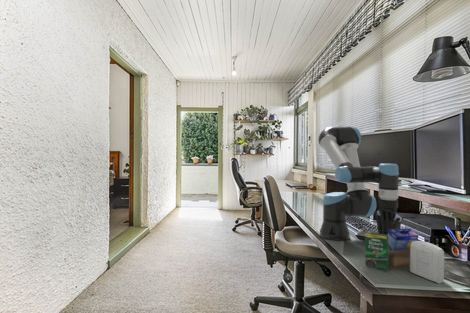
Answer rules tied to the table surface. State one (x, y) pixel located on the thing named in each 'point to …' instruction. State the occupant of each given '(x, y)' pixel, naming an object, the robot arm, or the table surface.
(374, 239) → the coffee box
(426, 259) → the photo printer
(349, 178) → the robot arm
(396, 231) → the ink cartridge box
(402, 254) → the walnut fence board
